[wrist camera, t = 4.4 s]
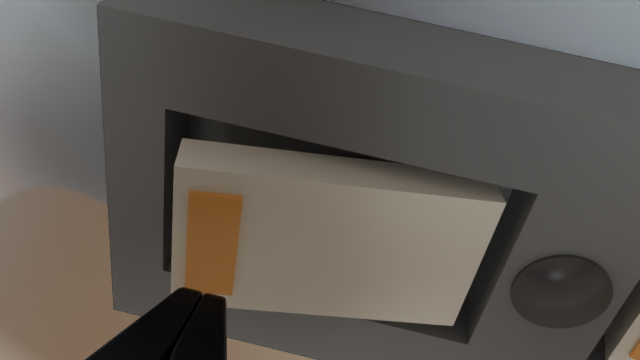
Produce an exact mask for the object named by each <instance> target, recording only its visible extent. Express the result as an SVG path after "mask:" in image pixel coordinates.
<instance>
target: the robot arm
mask: <svg viewBox="0 0 640 360" xmlns="http://www.w3.org/2000/svg"><path fill="white" fill-rule="evenodd" d="M226 341H227V304H226V298H225V297H223V296H219V295H215V294H211V293H205V294H203V293H202V292H201V291H198V290H194V289H190V288H186V287H181V288H178V289H177V290H175V291H174V292H173V293H172V294H170V295H169V296H168V297H166V298H165V299H164V300H162V301H161V302H160V303H158V304H157V305H156V306H155V307H153V308H152V309H151V310H149V311H148V312H147V313H145V314H144V315H143V316H141V317H140V318H139V319H138V320H136V321H135V322H134V323H132V324H131V325H130V326H128V327H127V328H126V329H124V330H123V331H122V332H121V333H119V334H118V335H117V336H115V337H114V338H113V339H112V340H110V341H109V342H107V343H106V344H105V345H103V346H102V347H101V348H100V349H98V350H97V351H96V352H94V353H93V354H92V355H90V356H89V357H88V358H86V359H85V360H227V342H226Z"/></svg>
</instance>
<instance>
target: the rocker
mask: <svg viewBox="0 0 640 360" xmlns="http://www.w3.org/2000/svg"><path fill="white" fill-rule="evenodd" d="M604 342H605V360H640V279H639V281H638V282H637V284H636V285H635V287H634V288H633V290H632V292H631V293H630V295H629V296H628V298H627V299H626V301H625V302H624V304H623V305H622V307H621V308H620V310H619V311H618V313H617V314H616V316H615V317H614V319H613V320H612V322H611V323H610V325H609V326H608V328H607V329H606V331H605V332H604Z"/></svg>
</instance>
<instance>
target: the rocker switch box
mask: <svg viewBox="0 0 640 360" xmlns="http://www.w3.org/2000/svg"><path fill="white" fill-rule="evenodd" d="M97 20H98V38H99V56H100V74H101V92H102V110H103V128H104V146H105V164H106V182H107V200H108V216H109V217H108V219H109V237H110V252H111V253H110V255H111V273H112V290H113V308H114V310H118V311H122V312H126V313H130V314H134V315H138V316H143V315H144V314H145V313H147V312H148V311H149V310H151V309H152V308H153V307H155V306H156V305H157V304H158V303H160V302H161V301H162V300H164V299H165V298H166V297H168V296H169V295H170V294H171V259H172V219H173V179H174V164H175V161H176V157H177V154H178V151H179V147H180V144H181V140H182V138H186V139H195V140H203V141H212V142H220V143H229V144H238V145H246V146H255V147H263V148H272V149H281V150H289V151H298V152H306V153H315V154H324V155H332V156H341V157H349V158H358V159H367V160H375V161H384V162H392V163H401V164H408V165H413V166H417V167H421V168H426V169H430V170H434V171H439V172H443V173H447V174H452V175H456V176H460V177H465V178H469V179H473V180H478V181H482V182H487V183H491V184H495V185H498V187H499V189H500V191H501V193H502V195H503V197H504V199H505V201H506V206H505V208H504V210H503V212H502V215H501V217H500V219H499V222H498V224H497V226H496V229H495V231H494V233H493V235H492V238H491V240H490V242H489V245H488V247H487V249H486V251H485V254H484V256H483V258H482V261H481V263H480V265H479V268H478V270H477V272H476V274H475V277H474V279H473V281H472V284H471V286H470V288H469V290H468V293H467V295H466V297H465V300H464V302H463V304H462V307H461V309H460V311H459V313H458V316H457V318H456V320H455V323H454V325H453V326H446V325H434V324H421V323H409V322H396V321H384V320H371V319H359V318H346V317H334V316H322V315H309V314H297V313H284V312H272V311H259V310H247V309H235V308H227V337H228V338H231V339H236V340H239V341H244V342H247V343H252V344H256V345H260V346H264V347H268V348H272V349H276V350H280V351H284V352H288V353H292V354H296V355H300V356H305V357H308V358H313V359H316V360H605V342H604V332H605V331H606V329H607V328H608V326H609V325H610V323H611V322H612V320H613V319H614V317H615V316H616V314H617V313H618V311H619V310H620V308H621V307H622V305H623V304H624V302H625V301H626V299H627V298H628V296H629V295H630V293H631V292H632V290H633V288H634V287H635V285H636V284H637V282H638V281H639V279H640V70H639V69H634V68H630V67H625V66H621V65H616V64H611V63H607V62H602V61H598V60H593V59H589V58H584V57H579V56H575V55H570V54H566V53H561V52H556V51H552V50H547V49H543V48H538V47H534V46H529V45H524V44H520V43H515V42H511V41H506V40H501V39H497V38H492V37H488V36H483V35H479V34H474V33H469V32H465V31H460V30H456V29H451V28H446V27H442V26H437V25H433V24H428V23H424V22H419V21H414V20H410V19H405V18H401V17H396V16H391V15H387V14H382V13H378V12H373V11H369V10H364V9H359V8H355V7H350V6H346V5H341V4H336V3H332V2H327V1H323V0H103V1H102V2H100V3H98V4H97Z"/></svg>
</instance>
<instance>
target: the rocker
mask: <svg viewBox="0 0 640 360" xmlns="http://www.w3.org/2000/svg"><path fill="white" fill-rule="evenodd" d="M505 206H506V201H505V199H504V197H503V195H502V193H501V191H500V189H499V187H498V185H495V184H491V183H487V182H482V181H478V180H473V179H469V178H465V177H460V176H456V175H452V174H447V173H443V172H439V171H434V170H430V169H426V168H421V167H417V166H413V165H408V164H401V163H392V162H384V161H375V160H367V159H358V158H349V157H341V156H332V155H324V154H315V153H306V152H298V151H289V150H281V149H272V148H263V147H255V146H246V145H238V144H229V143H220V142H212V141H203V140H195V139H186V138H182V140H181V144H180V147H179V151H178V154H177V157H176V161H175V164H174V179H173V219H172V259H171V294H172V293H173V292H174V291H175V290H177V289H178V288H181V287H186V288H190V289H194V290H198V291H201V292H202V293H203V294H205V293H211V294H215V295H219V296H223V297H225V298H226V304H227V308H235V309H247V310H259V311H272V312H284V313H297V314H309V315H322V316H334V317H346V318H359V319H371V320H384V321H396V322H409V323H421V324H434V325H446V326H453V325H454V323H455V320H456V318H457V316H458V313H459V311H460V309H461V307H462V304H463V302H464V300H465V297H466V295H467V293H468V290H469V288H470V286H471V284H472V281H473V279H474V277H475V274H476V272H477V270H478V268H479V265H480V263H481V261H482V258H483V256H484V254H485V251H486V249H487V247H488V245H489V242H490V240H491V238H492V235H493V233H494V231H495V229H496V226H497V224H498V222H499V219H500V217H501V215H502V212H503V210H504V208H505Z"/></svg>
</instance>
